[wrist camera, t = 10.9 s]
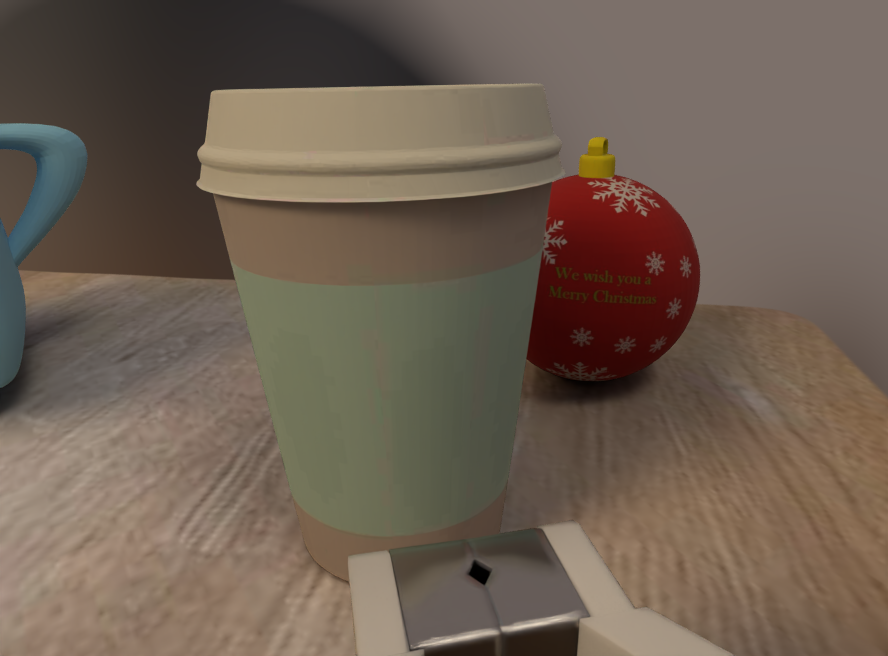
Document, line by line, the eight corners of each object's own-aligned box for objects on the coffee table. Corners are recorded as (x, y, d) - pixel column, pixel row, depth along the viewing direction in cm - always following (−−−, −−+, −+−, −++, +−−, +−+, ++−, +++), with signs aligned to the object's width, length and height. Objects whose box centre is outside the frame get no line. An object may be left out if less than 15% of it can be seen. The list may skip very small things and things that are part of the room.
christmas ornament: (457, 396, 26) (453, 145, 23) (520, 327, 34) (525, 128, 30) (676, 436, 23) (712, 150, 20) (694, 350, 30) (722, 130, 27)
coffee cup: (586, 482, 21) (614, 81, 16) (466, 691, 14) (460, 85, 9) (367, 423, 24) (343, 87, 20) (185, 562, 17) (91, 92, 13)
